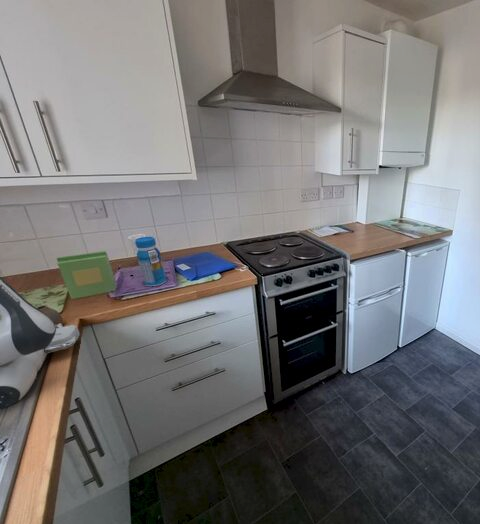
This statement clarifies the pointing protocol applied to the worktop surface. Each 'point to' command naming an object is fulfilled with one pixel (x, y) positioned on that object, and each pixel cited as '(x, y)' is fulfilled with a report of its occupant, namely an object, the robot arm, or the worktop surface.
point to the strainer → (134, 242)
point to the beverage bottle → (150, 262)
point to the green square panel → (87, 274)
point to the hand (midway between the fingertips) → (37, 330)
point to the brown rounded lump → (51, 314)
